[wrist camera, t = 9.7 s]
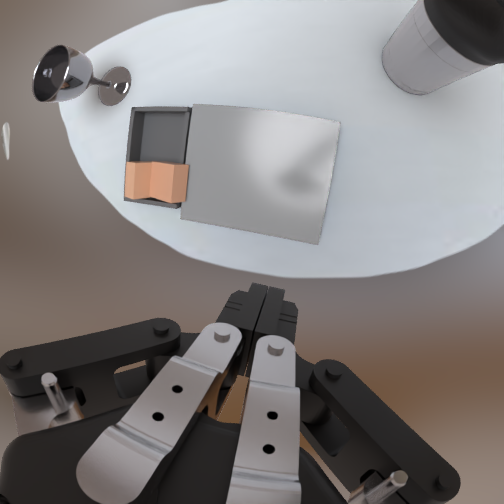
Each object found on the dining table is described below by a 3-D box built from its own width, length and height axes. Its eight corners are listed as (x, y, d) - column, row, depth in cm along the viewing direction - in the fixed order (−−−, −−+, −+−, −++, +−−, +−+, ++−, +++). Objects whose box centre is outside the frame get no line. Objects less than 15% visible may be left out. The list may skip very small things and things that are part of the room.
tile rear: (164, 162, 38) (154, 160, 40) (135, 162, 34) (126, 161, 36) (161, 196, 40) (152, 193, 41) (133, 199, 36) (124, 196, 37)
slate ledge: (201, 107, 36) (193, 103, 34) (338, 124, 34) (340, 122, 31) (188, 214, 42) (180, 218, 39) (317, 238, 40) (318, 244, 37)
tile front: (166, 161, 38) (152, 161, 37) (188, 164, 36) (174, 164, 34) (163, 194, 40) (149, 196, 38) (185, 201, 38) (170, 203, 36)
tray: (144, 109, 38) (131, 107, 34) (197, 110, 37) (187, 106, 33) (136, 196, 43) (123, 200, 39) (186, 204, 41) (176, 208, 38)
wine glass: (126, 55, 35) (64, 33, 21) (138, 91, 37) (73, 75, 23) (92, 81, 37) (29, 70, 23) (103, 116, 39) (36, 113, 25)
